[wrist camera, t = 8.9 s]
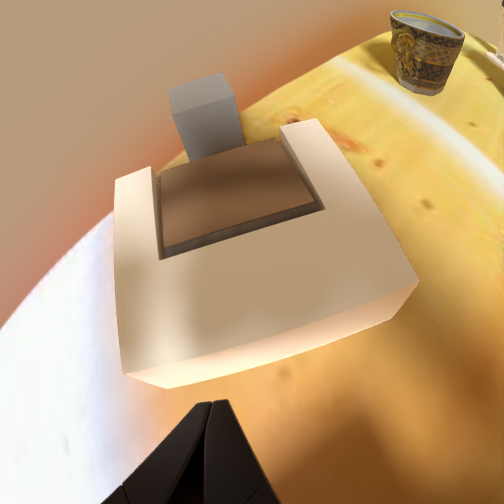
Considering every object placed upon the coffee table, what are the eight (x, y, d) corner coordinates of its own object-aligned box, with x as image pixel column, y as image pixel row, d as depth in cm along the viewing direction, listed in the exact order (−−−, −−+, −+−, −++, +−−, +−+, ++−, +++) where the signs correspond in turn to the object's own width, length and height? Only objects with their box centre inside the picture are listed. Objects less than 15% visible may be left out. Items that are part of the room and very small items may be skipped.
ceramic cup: (409, 63, 37) (414, 8, 29) (462, 93, 32) (475, 35, 24) (357, 81, 35) (359, 14, 26) (418, 117, 30) (433, 43, 21)
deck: (391, 318, 20) (420, 281, 14) (167, 389, 19) (123, 374, 14) (316, 171, 27) (316, 118, 22) (145, 224, 27) (115, 179, 22)
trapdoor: (318, 217, 18) (318, 207, 18) (169, 263, 18) (164, 255, 18) (276, 145, 24) (274, 137, 23) (164, 180, 24) (160, 172, 23)
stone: (222, 72, 25) (237, 137, 31) (168, 88, 24) (191, 151, 31) (234, 95, 22) (249, 167, 29) (172, 114, 22) (198, 182, 29)
